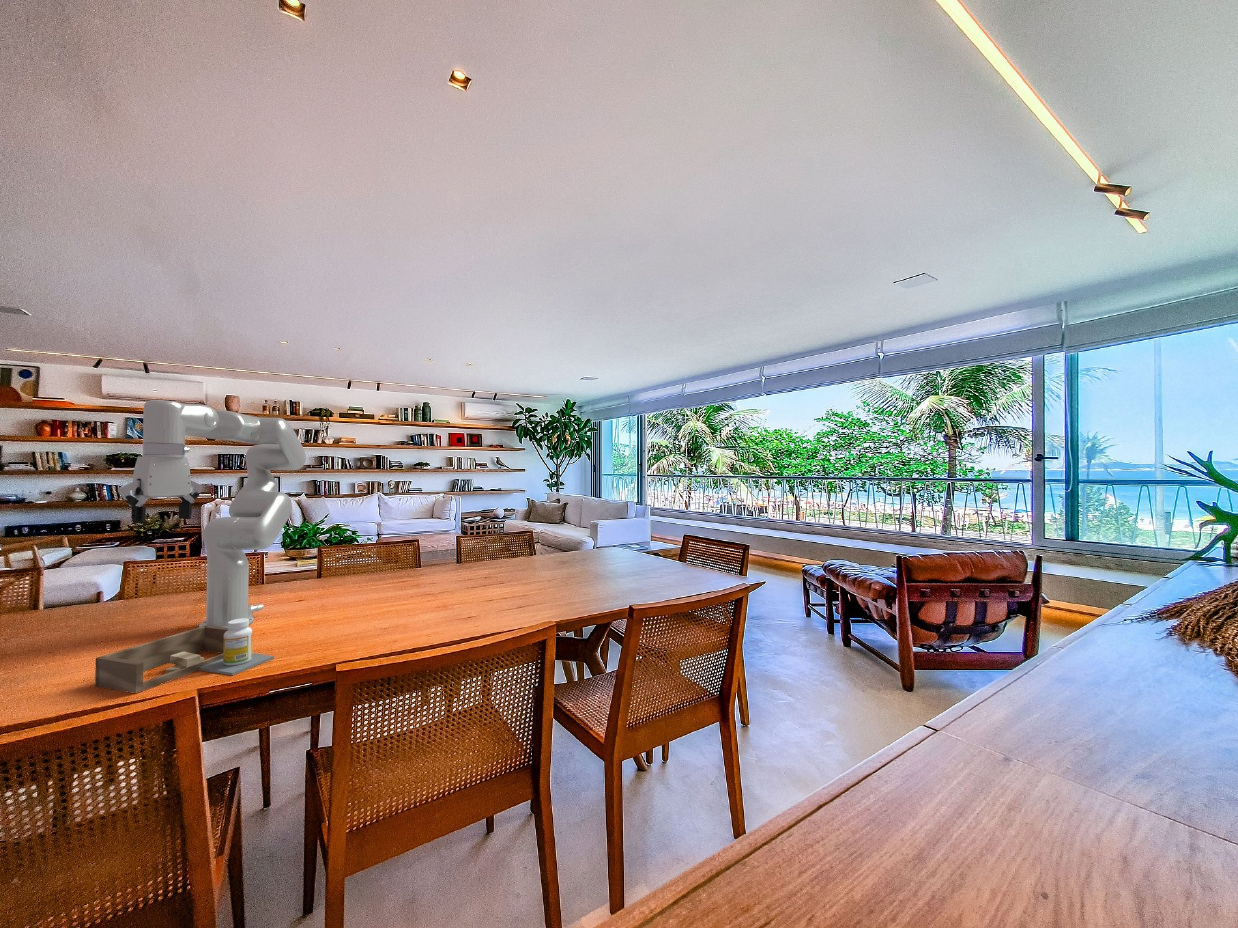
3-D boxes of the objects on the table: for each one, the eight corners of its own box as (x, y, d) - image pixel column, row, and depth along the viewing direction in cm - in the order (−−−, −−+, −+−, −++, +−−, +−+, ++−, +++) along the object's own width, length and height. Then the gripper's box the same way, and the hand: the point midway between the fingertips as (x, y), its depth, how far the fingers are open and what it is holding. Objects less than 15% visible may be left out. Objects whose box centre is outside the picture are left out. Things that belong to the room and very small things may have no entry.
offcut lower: (191, 665, 115) (192, 656, 115) (203, 665, 115) (203, 656, 115) (165, 678, 108) (165, 669, 108) (178, 678, 108) (178, 669, 108)
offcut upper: (170, 663, 111) (170, 655, 111) (183, 659, 114) (183, 651, 114) (186, 667, 109) (187, 659, 109) (200, 662, 112) (200, 655, 112)
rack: (206, 648, 124) (206, 625, 124) (242, 653, 121) (242, 629, 121) (95, 686, 103) (95, 657, 103) (135, 693, 100) (136, 664, 100)
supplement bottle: (234, 657, 118) (235, 617, 118) (257, 656, 118) (258, 617, 118) (217, 666, 112) (217, 624, 112) (241, 666, 113) (241, 624, 113)
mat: (242, 653, 121) (242, 651, 121) (274, 658, 119) (274, 655, 119) (199, 670, 112) (199, 667, 112) (232, 675, 109) (232, 672, 109)
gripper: (191, 452, 128) (190, 516, 128) (108, 449, 111) (107, 524, 111) (213, 452, 126) (211, 518, 126) (132, 450, 109) (130, 525, 109)
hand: (162, 520), depth 119 cm, fingers open, 9 cm apart
